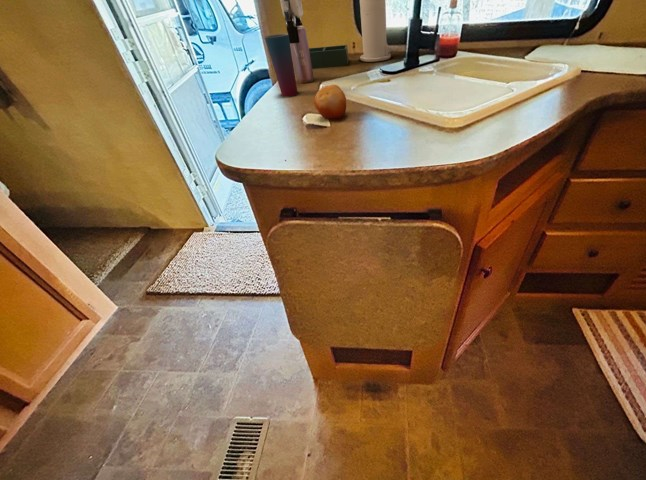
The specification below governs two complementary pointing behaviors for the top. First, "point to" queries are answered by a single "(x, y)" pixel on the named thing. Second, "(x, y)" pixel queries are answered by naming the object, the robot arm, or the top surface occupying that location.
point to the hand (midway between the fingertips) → (297, 40)
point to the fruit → (330, 102)
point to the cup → (282, 62)
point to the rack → (329, 56)
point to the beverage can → (302, 58)
